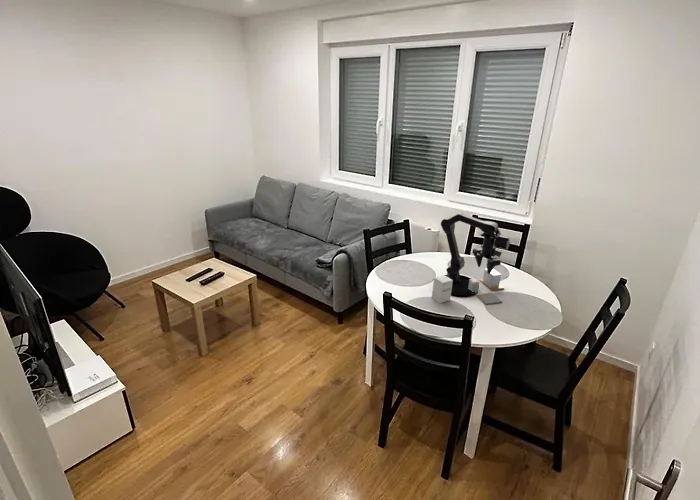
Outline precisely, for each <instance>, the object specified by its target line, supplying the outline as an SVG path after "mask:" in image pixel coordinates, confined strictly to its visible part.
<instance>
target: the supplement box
mask: <svg viewBox="0 0 700 500" xmlns="http://www.w3.org/2000/svg"><path fill="white" fill-rule="evenodd" d="M432 285H433V286H432V293H431V298H432V299H433V300H435V301H436V302H438V303H439V304H441V303H445V302H448V301H450V300H451V297H452V290H453V280H452V279H450V278H448V277H447V275H446V274H445V275H439V276H435V277H433V284H432Z"/></svg>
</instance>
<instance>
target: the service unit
mask: <svg viewBox="0 0 700 500" xmlns="http://www.w3.org/2000/svg"><path fill="white" fill-rule="evenodd" d="M501 278H502V274H501V273H500V272H499V271H497V270H496V269H494V268H493V269H492V271H491V272H490V274H488V273H487V268H484V271H483V277H482V279H480V280H479V282H481V283H482V284H483V285H484V286H485V287H486V288H488V289H489V291H491V292H493V291H499V290H504V289H505V287H504V286H503V285H501V284H500V283H501Z"/></svg>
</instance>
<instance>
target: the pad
mask: <svg viewBox="0 0 700 500" xmlns="http://www.w3.org/2000/svg"><path fill="white" fill-rule="evenodd" d="M475 296H476V297H477V298H478V299H479V300H480V301H481V302H482V303H483V304H484V305H486V306H487V305H493V304H494V305H495V304H502V303H503V300H502V299H500V298H499V297H498V296H497V295H495V294H494V293H493V291H491V292H484V293H482V292H481V293H475Z"/></svg>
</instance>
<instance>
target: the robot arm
mask: <svg viewBox="0 0 700 500" xmlns="http://www.w3.org/2000/svg"><path fill="white" fill-rule="evenodd" d="M458 222H461V223H464V224H467V225H469V226H471V227H473V228H474V227H475V228H477V229H479V230H480V231H481V232H482V233H481V234H480V236H481V237H484V238H483V242H482V245H480V247H474V248H473V249H472V254H473V256H474V258H475V259H474V260H475V261H476V264H477V266H478V268H480V267H481V265H482V261H483V259H484V258H485V259H486V262H487V263H486V269H487V273H488V274H490V272H491V271H492V269H494V268H495V267H498V266H500V265H501V263H502V261H501V260H500V259H499V258H501V255H502V253H503V251H501V250H499V249H502V250H508V249H509V246H510V244H511V239H510V237H509V236H503V235H502V233H501V231H500V229H499V225H498V223H497V222H494V221H489V220H482V219H479V218H476V217H473V216H470V215H468V214H465V213H463V212H459V213H457V214H455V215H453V216H447V217H446V218H444V219H442V220H441V221H440V226H441V228H442V231H443V232H444V233H445V235H446V240H447V244H448V248H449V253H450V257H451V258H450V266H448V267H447V268H446V276H447V277H448V278H450V279H452V280H453V281H457V280H458V279H459V280H460V271H461V270H462V269H463V268H464V267H465V264H466V262H465V258H464V257H465V256H461V255H460V251H459V247H458V244H457V238H456V235H455V228H456V223H458ZM495 256H496V257H495ZM497 257H498V258H497Z"/></svg>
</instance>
